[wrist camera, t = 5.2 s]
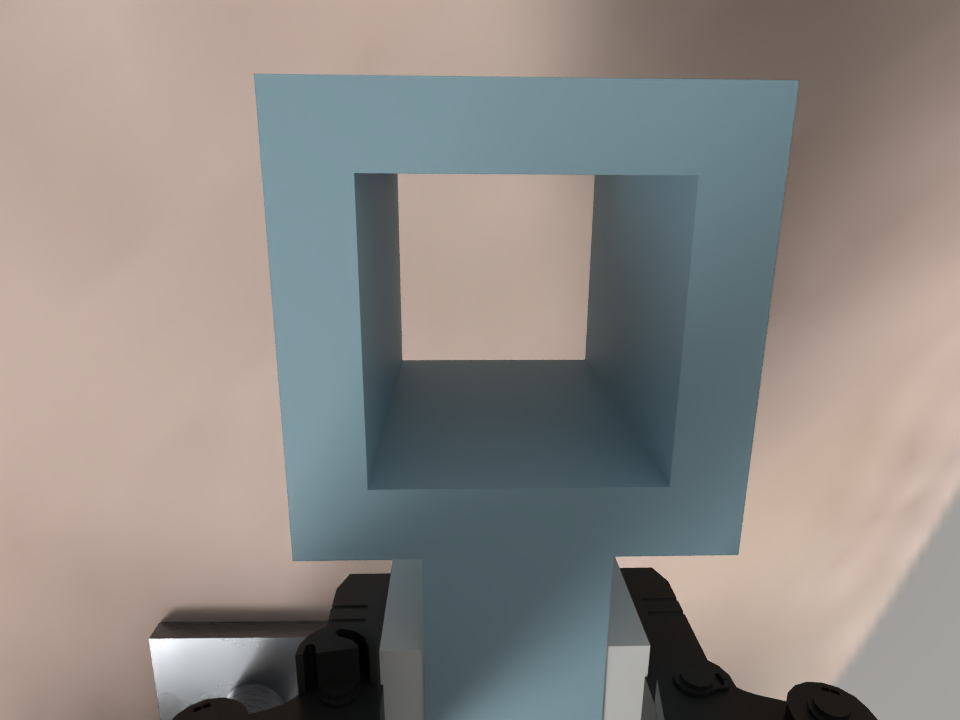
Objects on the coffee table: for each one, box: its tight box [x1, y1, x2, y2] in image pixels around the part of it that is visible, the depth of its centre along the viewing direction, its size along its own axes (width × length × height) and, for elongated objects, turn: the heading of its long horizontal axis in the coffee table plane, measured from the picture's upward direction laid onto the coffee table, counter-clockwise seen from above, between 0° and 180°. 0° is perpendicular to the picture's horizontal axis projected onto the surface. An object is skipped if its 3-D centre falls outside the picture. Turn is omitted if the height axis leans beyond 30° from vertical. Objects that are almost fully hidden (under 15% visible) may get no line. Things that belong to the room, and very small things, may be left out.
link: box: [254, 74, 799, 720], centre depth 15 cm, size 18×7×7 cm, turn 0°
